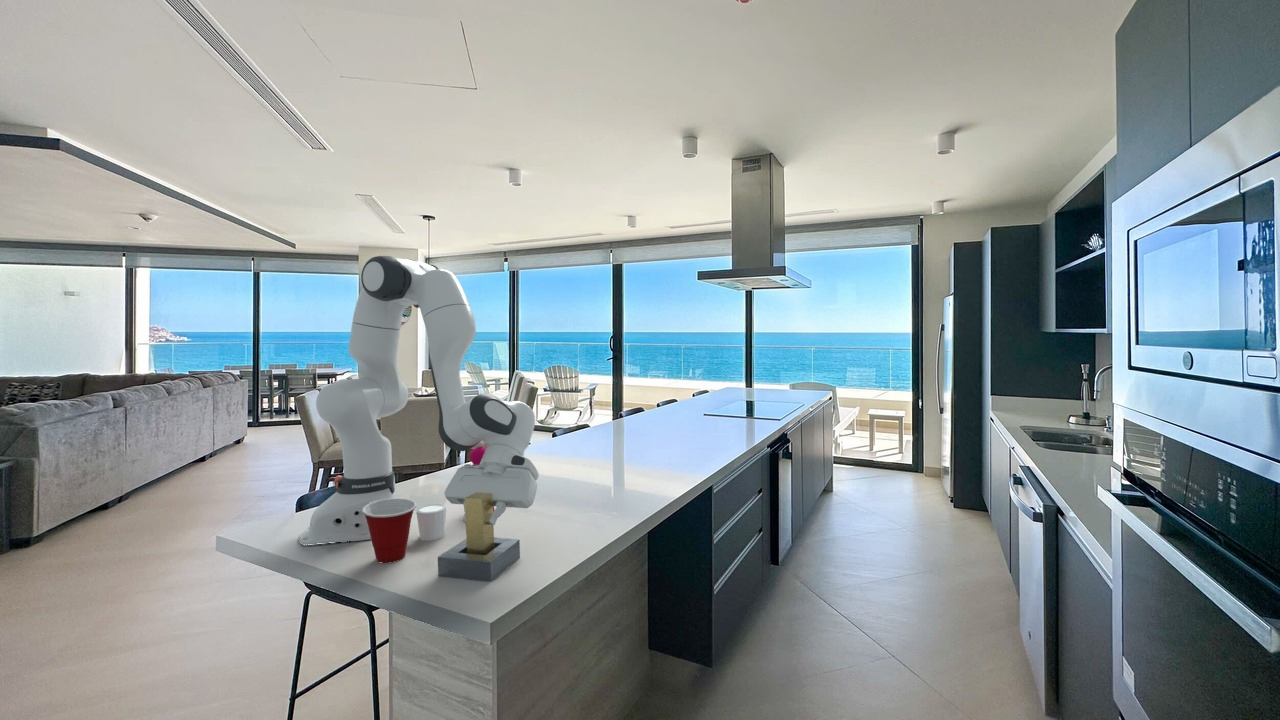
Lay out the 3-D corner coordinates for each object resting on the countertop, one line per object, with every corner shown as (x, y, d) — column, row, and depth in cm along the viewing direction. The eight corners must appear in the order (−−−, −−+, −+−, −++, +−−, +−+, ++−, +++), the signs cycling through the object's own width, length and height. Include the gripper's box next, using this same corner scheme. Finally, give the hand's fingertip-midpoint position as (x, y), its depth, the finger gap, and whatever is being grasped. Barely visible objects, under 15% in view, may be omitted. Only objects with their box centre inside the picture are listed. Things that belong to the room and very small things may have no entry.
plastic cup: (383, 573, 108) (380, 515, 108) (353, 562, 114) (351, 507, 113) (428, 554, 117) (426, 501, 117) (399, 545, 123) (397, 494, 123)
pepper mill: (489, 506, 151) (487, 437, 150) (500, 512, 146) (498, 441, 145) (465, 511, 147) (462, 441, 146) (475, 518, 141) (472, 444, 140)
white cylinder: (411, 538, 127) (410, 509, 127) (436, 529, 133) (435, 502, 133) (428, 543, 124) (427, 514, 123) (453, 534, 129) (452, 506, 129)
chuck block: (438, 576, 106) (437, 557, 106) (471, 553, 117) (471, 535, 117) (491, 582, 103) (490, 562, 103) (520, 557, 114) (519, 539, 114)
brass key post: (467, 555, 109) (464, 498, 108) (477, 547, 112) (475, 492, 112) (484, 556, 108) (481, 498, 107) (494, 548, 111) (492, 493, 111)
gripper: (454, 456, 119) (428, 513, 110) (536, 459, 114) (516, 519, 104) (466, 471, 123) (441, 526, 114) (545, 474, 118) (527, 533, 109)
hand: (478, 523), depth 109 cm, fingers closed on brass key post, 4 cm apart
